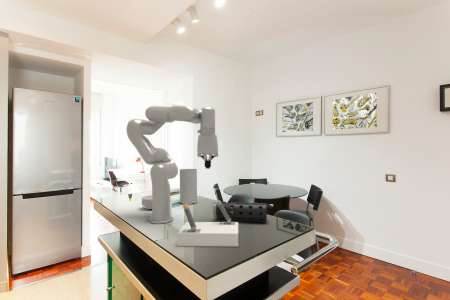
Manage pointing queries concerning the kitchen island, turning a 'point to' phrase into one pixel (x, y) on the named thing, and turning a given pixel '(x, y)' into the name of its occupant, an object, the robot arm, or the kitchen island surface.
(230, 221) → the lever
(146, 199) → the paper bowls
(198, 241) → the panel
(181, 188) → the cylinder vase
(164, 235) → the kitchen island surface
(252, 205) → the muzzle brake
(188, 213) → the lever
